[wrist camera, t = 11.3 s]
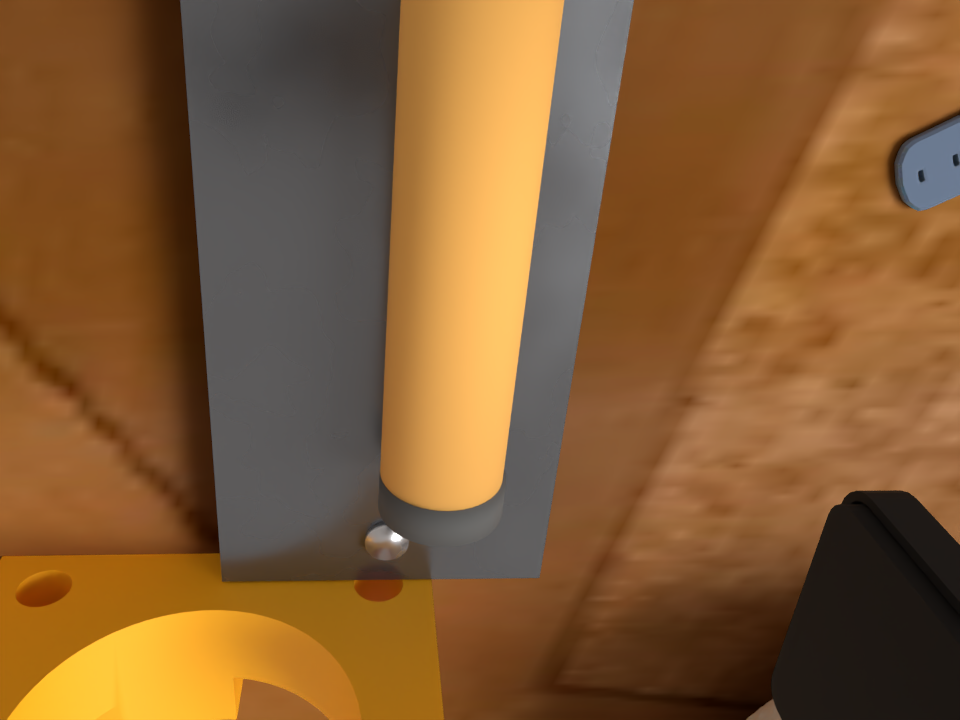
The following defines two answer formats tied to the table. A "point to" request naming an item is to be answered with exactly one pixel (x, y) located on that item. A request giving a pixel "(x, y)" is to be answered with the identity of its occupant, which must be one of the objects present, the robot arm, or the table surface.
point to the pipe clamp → (207, 641)
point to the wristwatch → (930, 166)
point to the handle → (460, 255)
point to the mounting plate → (360, 281)
